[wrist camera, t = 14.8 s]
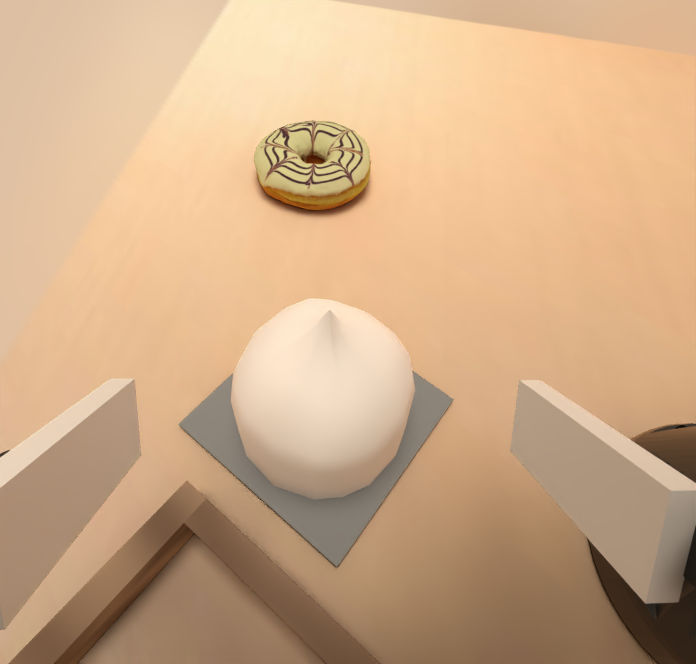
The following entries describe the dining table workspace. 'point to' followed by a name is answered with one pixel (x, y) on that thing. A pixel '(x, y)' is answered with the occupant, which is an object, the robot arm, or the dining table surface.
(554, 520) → the dining table surface
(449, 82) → the dining table surface
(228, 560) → the walnut collar
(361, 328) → the teardrop
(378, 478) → the grey mat
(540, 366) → the dining table surface
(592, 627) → the dining table surface
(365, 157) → the decorated donut
